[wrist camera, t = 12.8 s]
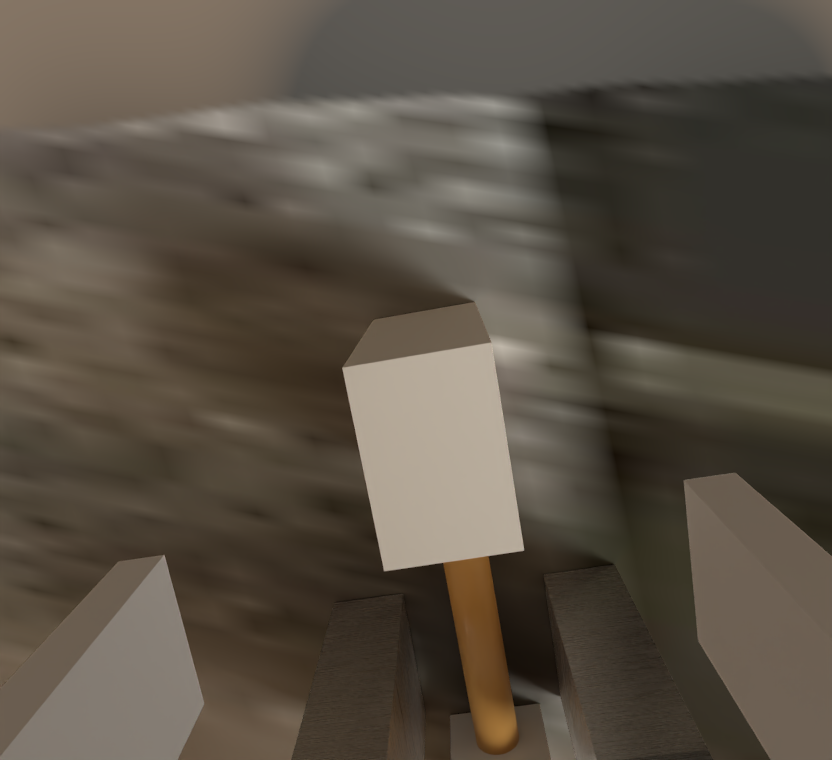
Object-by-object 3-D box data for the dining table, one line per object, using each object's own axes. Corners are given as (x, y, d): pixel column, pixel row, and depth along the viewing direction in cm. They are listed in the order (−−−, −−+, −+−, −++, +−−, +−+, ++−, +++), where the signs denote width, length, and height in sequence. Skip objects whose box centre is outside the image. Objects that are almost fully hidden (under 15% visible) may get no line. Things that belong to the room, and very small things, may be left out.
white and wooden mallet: (548, 760, 32) (590, 968, 23) (460, 771, 32) (468, 980, 23) (474, 302, 27) (491, 342, 18) (373, 319, 27) (342, 367, 19)
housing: (629, 688, 31) (737, 959, 20) (360, 722, 32) (316, 999, 20) (615, 564, 29) (722, 778, 18) (334, 602, 30) (272, 829, 19)
